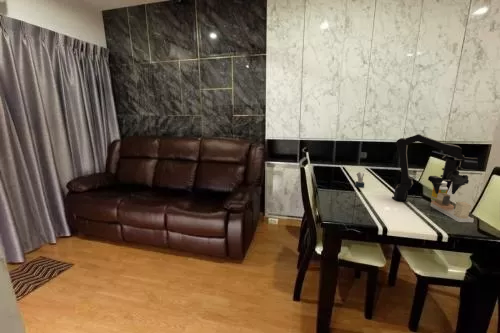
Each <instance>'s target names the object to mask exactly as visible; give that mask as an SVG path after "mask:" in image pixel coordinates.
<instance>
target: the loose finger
mask: <svg viewBox="0 0 500 333" xmlns="http://www.w3.org/2000/svg"><path fill="white" fill-rule="evenodd" d="M450 201H451V194H448V193H447V194H446V193H438V196H437V200H436V202H437V203H439V204H440V205H448V204H450Z"/></svg>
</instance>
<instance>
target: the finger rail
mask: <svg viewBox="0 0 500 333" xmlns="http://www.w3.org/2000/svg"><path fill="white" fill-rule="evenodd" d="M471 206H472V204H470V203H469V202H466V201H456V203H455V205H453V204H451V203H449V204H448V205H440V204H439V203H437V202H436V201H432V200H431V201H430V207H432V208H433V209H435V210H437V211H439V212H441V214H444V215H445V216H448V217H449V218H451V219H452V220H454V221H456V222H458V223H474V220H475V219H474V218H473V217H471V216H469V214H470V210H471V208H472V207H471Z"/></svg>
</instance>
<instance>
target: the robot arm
mask: <svg viewBox="0 0 500 333" xmlns="http://www.w3.org/2000/svg"><path fill="white" fill-rule="evenodd" d="M417 142H418V143H421V144H424V145H426V146H429V147H432V148H435V149H438V150H441V151H442V152H443V153H445V155H444V156H442V157H441V158H442V160H445V162H444V167H442V168H441V170H442V174H440V176H437V175H429V176H428V179H427V181H429V182H430V183H431V184H432V186H433V187H434V190H435V193H436V194H438V192H439V188H440V185H442V184H441V183H442V181H445V182H452V183H451V194H452V195H455V194H456V192H457V191H458V189H460V188H461V187H462V186H466V185H467V184H469V182H470V181H469V176H468V175H466V174H460V170H458V168H461V170H466V171H473V172H476V171H477V169H478V166H479V165H478V160H479V159H478V157H465V155H464V154H463V153H462V152H463V149H462V147H460V146H459V145H457V144H452V143H445V142H441V141H440V140H436V139H432V138H430V137H427V136H425V135H422V134H420V133H418V134H417V133H416V134H415V135H412V136H409V137H400V138H399V139H397V140H396V141H395V147H396V149H397V152H398V155H399V164H400V173H401V177H400V183H398V184H397V185H396V187H395V189H394V192H393V193H394V194H393V196H391V198H392V199H393V200H394V201H396V202H405V203H406V202H408V200H407V199H408V195H409V193H408V191H409V190H411V189H412V186H413V185H414V182H413V178H414V177H413V176H410V173H409V163H408V162H409V161H408V146H409V145H411V144H414V143H417ZM433 187H432V188H433Z"/></svg>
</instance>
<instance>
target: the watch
mask: <svg viewBox="0 0 500 333" xmlns="http://www.w3.org/2000/svg"><path fill="white" fill-rule="evenodd" d="M364 176H365V173H364V171H358V172H356V177H357V181H355V183H354V186H355V188H362V189H363V188H365V181H364Z"/></svg>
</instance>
